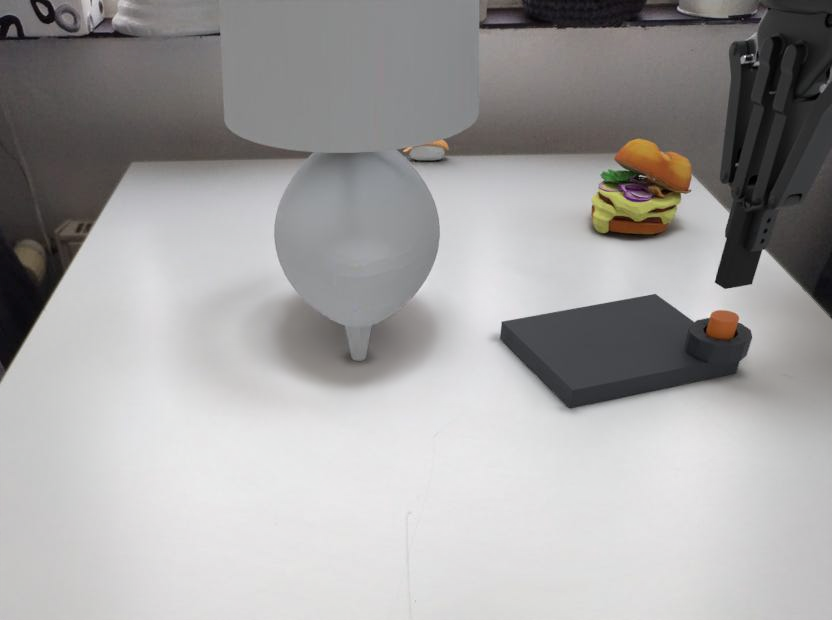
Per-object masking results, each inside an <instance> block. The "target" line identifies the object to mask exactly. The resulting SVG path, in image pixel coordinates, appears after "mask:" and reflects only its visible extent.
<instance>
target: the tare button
mask: <svg viewBox="0 0 832 620" xmlns="http://www.w3.org/2000/svg"><path fill="white" fill-rule="evenodd" d="M709 318H710V319H709V323H708V327H707V330H706V334H707V335H708V336H710V337H714V338H717V339H731V338H733V337H734V334H735V331H736V328H737V324H738V323H739V321H740V316H739V315H738V314H737V313H736V312H734V311H730V310H726V309H720V310H714V311H712V312H711V313H710V316H709Z"/></svg>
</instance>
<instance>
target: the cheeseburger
mask: <svg viewBox="0 0 832 620" xmlns="http://www.w3.org/2000/svg"><path fill="white" fill-rule="evenodd" d="M613 160H614V161H615V162H616V164H618V165H619V166H620V167H621V168H623V169H624V170H622V169H621V170H620V169H619V170H613V169H610V168H609V169H608V170H607V171H604V170H603V171H602V172H601V174H600V178H602V181H601V182H600V183H598V185H597V192H596V193H595V194H594V195H593V196H592V197H591V203H592V205H591V211H590V212H591V213H590V216H591V221H592V225H593V228H594V229H595V230H596V231H597V233H599V234H606V233H608V232H612V233H621V234H636V235H651V236H652V235H654V234H659V233H662V232H665V231H666V229H667V228H668V227H669V225H670V223H671V221H673V219H674V218H675V216H676V213H677V210H678V205H680V203H681V202H682V195H681V194H684V195H687V194H690V193H691V192H692V189H690V185H691V182H692V179H693V178H692V164H691V162H690V161H689V158H687V157H685V156H683V155H681V154H679V153H677V152H675V151H667V152H663V151H661V150H660V148H659V146H658V145H657V144H656V143H654V142H653V141H650V140H647V139H642V138H636V139H632V140H629V141H628V142H627V143H626V144H625V145H624V146H622V147H621V148H620V149H619V151H618V152H617V153H616V154H615V156H614V157H613Z"/></svg>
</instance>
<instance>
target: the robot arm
mask: <svg viewBox="0 0 832 620" xmlns="http://www.w3.org/2000/svg"><path fill="white" fill-rule="evenodd" d="M759 1H760V3H761V4H762V5H763V6H765V7H766V10H765V12H764V14H763V15H762V17H761V20H759V22H758V26H757V29H756V32H755V33H754V34H752V35H751V36H749V37H748V38H747V39H743V40H742V39H741V40H734V41H732V43H731V44H730V46H729V49H728V60H729V70H730V71H729V72H730V84H729V92H728V101H727V110H726V120H725V128H724V136H723V146H722V153H721V164H720V172H719V180H720V183H721V184H723V185H728V186H729V187H730V189H731V190H730V195H731V198H732V200H733V201H732V203H731V207H730V211H729V215H728V219H727V223H726V225H725V230H724V237H725V238H726V239H725V242H724V246H723V249H722V254H721V257H720V260H719V265H718V268H717V272H716V274H715V275H716V276H715V278H714V279H715V280H714V283H715V284H716V285H717V286H720V287H721V288H722V289H723V290H728V289H733V288H739V287H740V288H741V287H744V286H745V287H746V286H751V285H753V282H754V279H755V276H756V272H757V269H758V266H759V262H760V259H761V255H762V252H763V251H764V250H766V249H767V248H768V247H769V244H770V240H771V237H772V234H773V231H774V227H775V224H776V222H777V218H778V215H779V212H780V211H781V210H782V209H784V208H791V207H796V206H797V207H798V206H801V205H803V203H805V200H806V198H807V197H808V195H809V192H810V190H811V189H812V188H813V187H812V186H813V185H814V183H815V181H816V179H817V177H818V175H819V174H820V171H821V169H822V167H823V165H824V164H825V162H826V160H827V157H828V155H829V154H830V152H831V149H832V0H759ZM736 164H737V165H736Z"/></svg>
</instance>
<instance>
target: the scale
mask: <svg viewBox="0 0 832 620" xmlns="http://www.w3.org/2000/svg"><path fill="white" fill-rule="evenodd" d="M709 319H710V317H706V318H701V319H697V320H695V321H694V320H692V319H691V318H689V317H688V316H686V314H684V313H683V312H682V311H680V310H678V309H677V308H676V307H674V306H673V305H672V304H670V303H669V302H667V300H665V299H663V298H662V297H661V296H659V295H658V294H656V293H653V294H647V295H642V296H636V297H630V298H625V299H621V300H620V299H619V300H614V301H607V302H603V303H597V304H592V305H586V306H580V307H576V308H570V309H565V310H559V311H553V312H548V313H547V312H546V313H543V314H542V313H541V314H536V315H531V316H526V317H519V318H514V319H508V320H504V321H503V320H502V321H501V324H500V325H501V326H500V335H499V339H500V340H501V341H502V342H503V343H504V344H505V345H507V347H508V348H509V349H510V350H511V351H512V352H513V353H514V354H515V355H517V357H518V358H519V359H520V360H522V362H523V363H525V365H527V367H529V369H530V370H531V371H532V372H533V373H534V374H535V375H536V376H537V377H538V378H539V379H541V381H542V382H543V383H544V384H545V385H546V386H547V387H549V388H550V390H551V391H552V392H553V393H554V394H555V395H556V396H557V397H558V398H559V399H561V400H562V402H563V403H564V404H565V405H567V407H569V408H571V409H572V408H576V407H580V406H585V405H591V404H595V403H599V402H604V401H609V400H614V399H619V398H623V397H628V396H633V395H639V394H642V393H647V392H653V391H657V390H662V389H667V388H673V387H676V386H681V385H687V384H691V383H696V382H700V381H701V382H702V381H707V380H710V379H714V378H721V377H724V376H729V375H735V374H737V372H738V370H739V367H740V366H739V365H740V362H741V361H743V359H745V358H746V357H747V355H748V353H749V350H750V346H751V344H752V341H753V334H752V330H751V329H750V328H749V327H747V326H746V325H744V324H743V323H741V322H738V324H737V328H736V331H735V334H734V337H733V338H731V339H717V338H714V337H710V336H708V335H707V334H706V330H707V327H708V323H709Z"/></svg>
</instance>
